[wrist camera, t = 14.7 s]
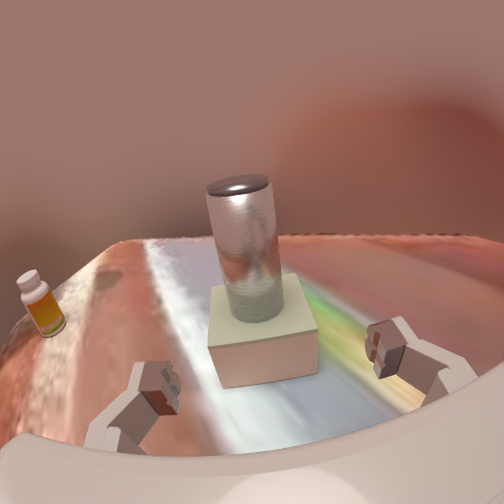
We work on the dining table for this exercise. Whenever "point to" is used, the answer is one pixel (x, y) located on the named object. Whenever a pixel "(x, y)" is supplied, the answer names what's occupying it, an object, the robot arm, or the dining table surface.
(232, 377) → the beige block
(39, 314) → the supplement bottle
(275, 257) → the canister
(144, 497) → the robot arm
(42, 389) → the dining table surface
